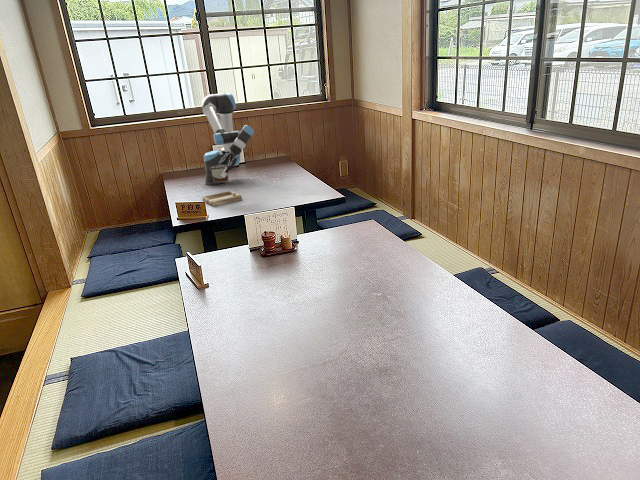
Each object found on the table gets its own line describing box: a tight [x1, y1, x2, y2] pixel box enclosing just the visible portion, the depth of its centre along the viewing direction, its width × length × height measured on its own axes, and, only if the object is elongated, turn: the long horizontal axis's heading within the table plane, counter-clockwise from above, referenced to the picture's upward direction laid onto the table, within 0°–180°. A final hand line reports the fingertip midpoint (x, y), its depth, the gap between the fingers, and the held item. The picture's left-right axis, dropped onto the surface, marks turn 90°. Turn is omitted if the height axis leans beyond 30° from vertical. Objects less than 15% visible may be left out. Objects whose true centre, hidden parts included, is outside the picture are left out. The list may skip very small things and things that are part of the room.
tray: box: [201, 190, 243, 208], centre depth 317 cm, size 18×20×3 cm
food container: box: [210, 165, 229, 183], centre depth 313 cm, size 12×6×10 cm, turn 87°
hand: (218, 175), depth 311 cm, fingers closed on food container, 10 cm apart
